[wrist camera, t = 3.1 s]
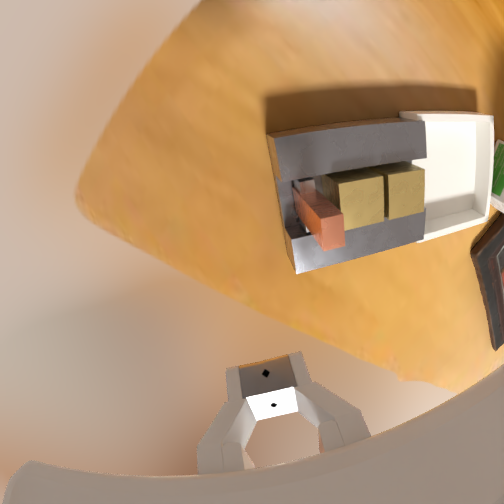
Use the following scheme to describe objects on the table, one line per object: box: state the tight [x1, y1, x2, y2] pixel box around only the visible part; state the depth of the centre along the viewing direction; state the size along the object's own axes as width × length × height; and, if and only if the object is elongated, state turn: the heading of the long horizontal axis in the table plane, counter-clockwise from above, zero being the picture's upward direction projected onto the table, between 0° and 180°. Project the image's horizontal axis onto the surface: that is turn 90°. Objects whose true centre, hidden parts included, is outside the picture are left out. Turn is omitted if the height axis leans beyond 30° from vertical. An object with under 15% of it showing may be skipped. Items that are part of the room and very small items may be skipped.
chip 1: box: [366, 161, 425, 220], centre depth 24 cm, size 4×4×4 cm
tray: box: [399, 111, 494, 243], centre depth 25 cm, size 13×12×3 cm
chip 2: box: [321, 167, 384, 231], centre depth 24 cm, size 4×4×4 cm
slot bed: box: [266, 117, 427, 274], centre depth 25 cm, size 12×14×4 cm
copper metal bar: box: [292, 177, 345, 251], centre depth 22 cm, size 4×2×7 cm, turn 12°
